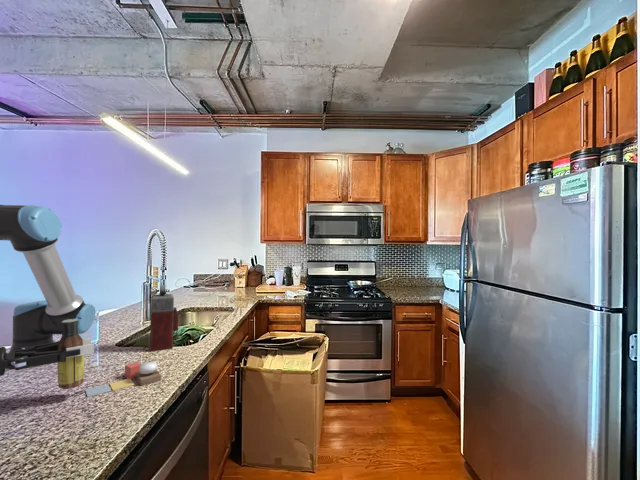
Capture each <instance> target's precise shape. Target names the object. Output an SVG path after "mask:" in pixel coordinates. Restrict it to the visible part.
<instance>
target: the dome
mask: <svg viewBox="0 0 640 480" xmlns="http://www.w3.org/2000/svg"><path fill="white" fill-rule="evenodd" d="M157 364H158V363H157V362H156V361H146V362H143V363H141V365H140V373H141V374H149V373H153V372H155V371H156V370H157V369H158V365H157ZM157 371H158V370H157Z"/></svg>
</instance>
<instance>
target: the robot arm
mask: <svg viewBox="0 0 640 480" xmlns="http://www.w3.org/2000/svg"><path fill="white" fill-rule="evenodd" d="M61 228H62V222H61V219H60V217H59V216H58V215H57V213H56V212H55V211H54V210H53V209H51V208H48V207H46V206H42V205H41V206H39V205H33V204H28V205H27V204H26V205H22V204H21V205H20V204H19V205H17V204H16V205H14V204H11V205H10V204H0V241H9V242H10V243H11V246H12V248H13V249H14V250H15V251H16V252H18V253H22V254H23V256H24V259H25V260H26V262H27V265H28V266H29V269H30V270H31V273H32V274H33V276H34V278H35V281H36V283H37V285H38V287H39V289H40V291H41V293H42V295H43V298H44V299H45V300H39V301H32V302H31V301H30V302H26V303H22V304H18V305H17V306H15V307H14V309H13V315H12V343H11V344H12V345H11V346H10V349H9V351H8V352H7V348H6V347H5V346H0V377H1V376H4V375H5V373H6V368H7V369H9V368H10V369H14V370H15V371H20V370H23V369H28V368H33V367H39V366H44V365H50V364H56V363H57V362H65V361H66V358H70V357H76V356H81V355H84V356H85V355H92V354H94V353H95V344H94V343H92V338H91V337H90V338H82V339H83V346H77V347H71V348H66V350H58V351H57V349H58V343H59V341H60V340H58V341H54V338H53V337H54V336H53V335H61V336H62V326H61V322H62V321H64V320H68V319H78V321H79V323H78V334H79V335H82V334H84V333H87V332H88V331H89V330H90V328H91V327H92V325H93V324H94V320H95V317H96V309H95V306H94V305H93V304H90V303H85V301H84V299H83V297H82V296H81V295H79V294H76V292H75V290H74V288H73V284H72V283H71V280H70V278H69V276H68V273H67V271H66V269H65V266H64V264H63V261H62V259H61V257H60V254H59V251H58V249H57V247H56V245H55V244H56V243H58V240H59V239H58V238H59V237H60V235H61V232H62V229H61Z"/></svg>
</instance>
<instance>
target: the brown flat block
mask: <svg viewBox="0 0 640 480" xmlns="http://www.w3.org/2000/svg"><path fill="white" fill-rule="evenodd" d="M134 379H135V380H136V381H137V383H139V385H140V386H141V387H142V386H146V385H150V384H154V383H157V382H162V375H161V373H160V372H159V371H158V370H156V371H155V372H153V373H149V374H141V373H140V371H139V372H135V378H134Z"/></svg>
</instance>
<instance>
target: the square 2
mask: <svg viewBox="0 0 640 480" xmlns="http://www.w3.org/2000/svg"><path fill="white" fill-rule="evenodd" d="M133 386H135V383H134V382H133V380H132V379H129V378H127V379H123V380H119V381H115V382H110V383H109V387H110V389H111V391H118V390H121V389H125V388H129V387H133Z"/></svg>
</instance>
